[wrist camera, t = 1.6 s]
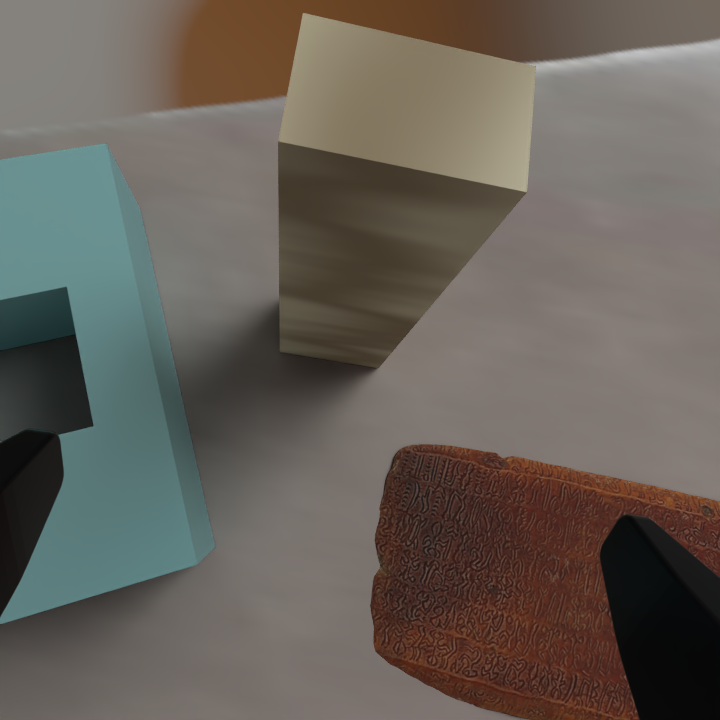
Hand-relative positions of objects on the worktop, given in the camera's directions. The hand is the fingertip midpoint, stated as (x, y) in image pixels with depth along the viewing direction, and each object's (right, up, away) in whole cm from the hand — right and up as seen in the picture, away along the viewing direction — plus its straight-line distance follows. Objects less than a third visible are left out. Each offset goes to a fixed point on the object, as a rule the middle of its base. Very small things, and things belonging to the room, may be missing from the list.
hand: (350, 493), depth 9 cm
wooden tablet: (+13, -8, +14) cm, 21 cm away
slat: (-1, +3, +14) cm, 14 cm away
